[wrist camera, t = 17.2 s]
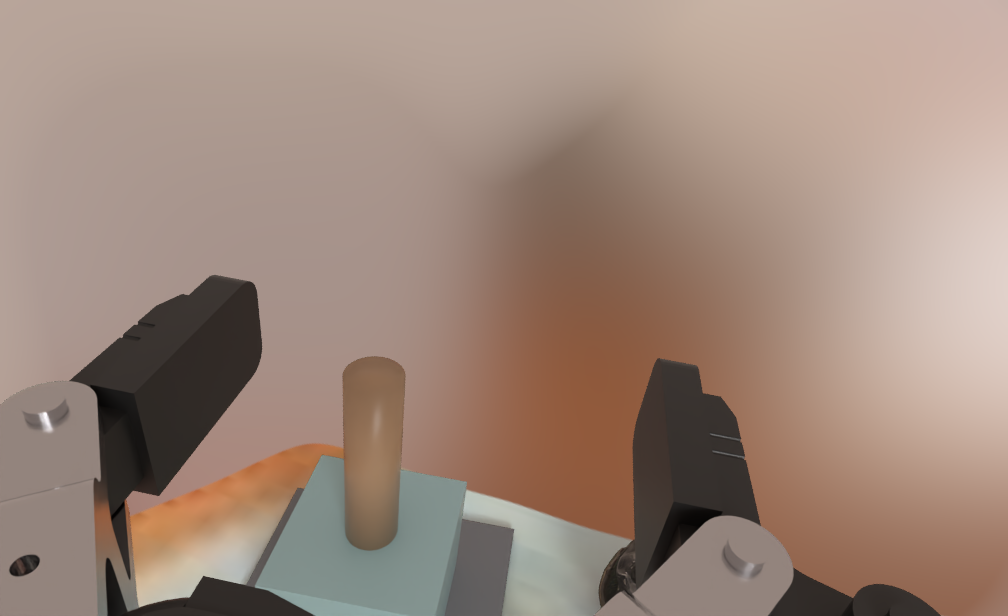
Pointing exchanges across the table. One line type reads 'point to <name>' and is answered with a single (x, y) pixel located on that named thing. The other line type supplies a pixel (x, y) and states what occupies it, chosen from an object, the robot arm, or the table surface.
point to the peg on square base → (369, 516)
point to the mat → (475, 572)
